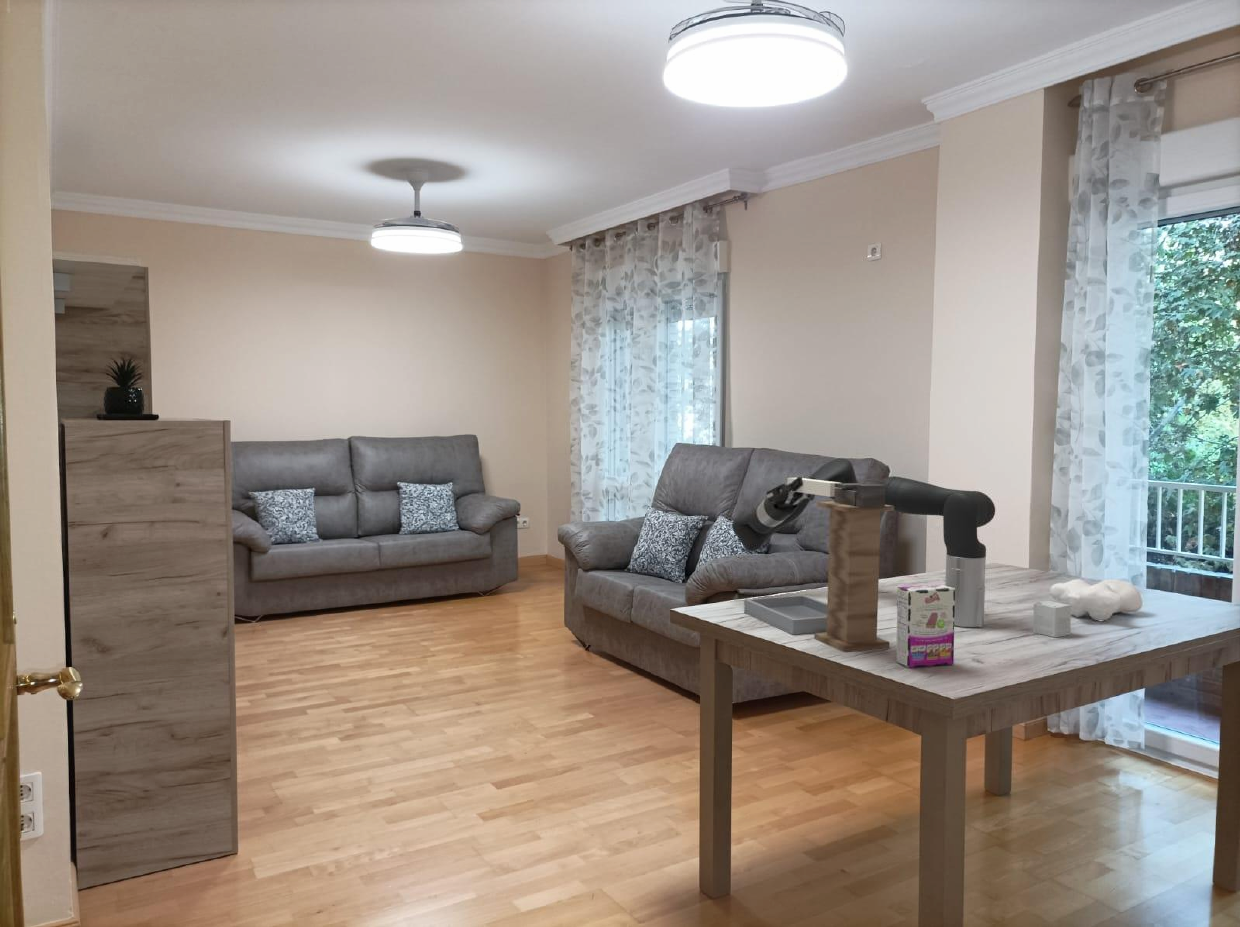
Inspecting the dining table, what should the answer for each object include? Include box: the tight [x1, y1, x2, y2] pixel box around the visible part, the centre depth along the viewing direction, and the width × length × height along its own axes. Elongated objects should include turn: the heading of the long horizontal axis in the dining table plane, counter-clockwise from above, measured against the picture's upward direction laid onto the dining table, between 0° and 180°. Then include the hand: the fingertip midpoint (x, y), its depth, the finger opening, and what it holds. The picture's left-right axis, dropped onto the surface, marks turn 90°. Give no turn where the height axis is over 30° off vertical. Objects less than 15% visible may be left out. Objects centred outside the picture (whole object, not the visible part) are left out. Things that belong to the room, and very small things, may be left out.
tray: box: [743, 594, 827, 636], centre depth 231 cm, size 24×18×4 cm
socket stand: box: [813, 482, 895, 653], centre depth 209 cm, size 13×12×37 cm
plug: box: [787, 477, 842, 498], centre depth 224 cm, size 19×3×3 cm, turn 21°
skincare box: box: [1032, 600, 1072, 638], centre depth 221 cm, size 6×6×7 cm
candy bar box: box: [895, 584, 955, 669], centre depth 194 cm, size 11×5×16 cm, turn 105°
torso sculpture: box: [1049, 578, 1143, 621], centre depth 239 cm, size 18×10×25 cm
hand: (807, 480), depth 226 cm, fingers closed on plug, 3 cm apart
